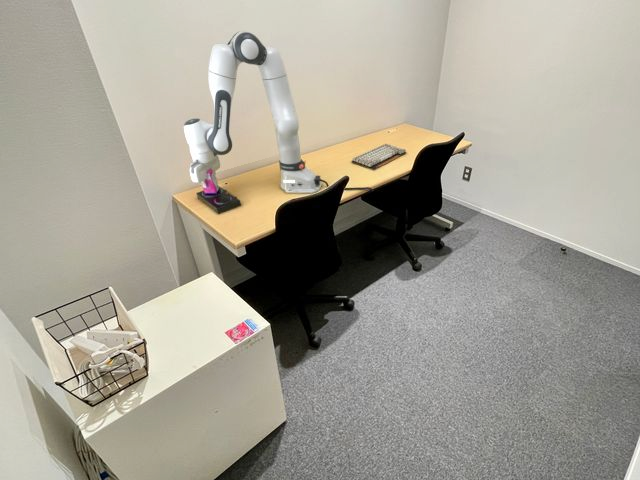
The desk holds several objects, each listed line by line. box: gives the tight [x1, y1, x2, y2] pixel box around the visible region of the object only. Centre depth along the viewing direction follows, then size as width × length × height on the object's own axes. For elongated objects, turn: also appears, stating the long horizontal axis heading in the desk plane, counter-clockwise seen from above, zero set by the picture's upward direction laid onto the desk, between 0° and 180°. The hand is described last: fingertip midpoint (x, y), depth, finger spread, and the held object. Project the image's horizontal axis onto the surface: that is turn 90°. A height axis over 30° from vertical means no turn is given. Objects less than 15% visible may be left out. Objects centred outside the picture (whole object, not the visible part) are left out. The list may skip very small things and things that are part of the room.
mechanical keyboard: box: [351, 143, 407, 171], centre depth 213 cm, size 38×19×3 cm, turn 141°
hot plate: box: [195, 185, 242, 215], centre depth 163 cm, size 22×13×4 cm, turn 45°
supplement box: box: [201, 168, 219, 194], centre depth 161 cm, size 6×6×12 cm
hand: (209, 183), depth 162 cm, fingers closed on supplement box, 6 cm apart
